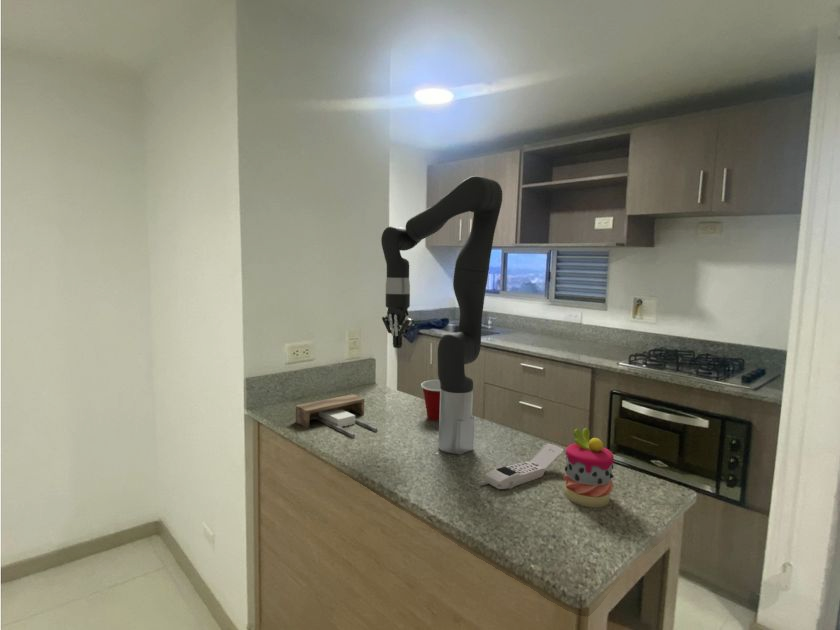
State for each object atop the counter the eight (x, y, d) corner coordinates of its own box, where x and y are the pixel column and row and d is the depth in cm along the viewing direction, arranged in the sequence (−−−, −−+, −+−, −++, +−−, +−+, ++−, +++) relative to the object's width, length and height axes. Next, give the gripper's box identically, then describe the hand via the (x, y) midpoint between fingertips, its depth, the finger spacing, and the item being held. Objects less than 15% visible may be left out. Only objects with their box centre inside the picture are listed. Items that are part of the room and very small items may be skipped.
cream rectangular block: (355, 424, 152) (355, 415, 152) (338, 429, 148) (338, 419, 148) (334, 415, 161) (335, 406, 161) (318, 419, 157) (318, 410, 156)
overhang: (393, 426, 150) (393, 410, 150) (334, 443, 136) (334, 424, 135) (352, 409, 167) (352, 394, 167) (295, 421, 152) (295, 405, 152)
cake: (619, 497, 108) (623, 434, 106) (597, 513, 101) (602, 445, 99) (576, 481, 116) (580, 422, 114) (554, 495, 108) (557, 432, 107)
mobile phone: (566, 449, 121) (495, 470, 107) (564, 471, 122) (494, 495, 108) (547, 441, 126) (477, 461, 112) (546, 463, 127) (476, 485, 113)
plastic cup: (415, 420, 157) (416, 385, 156) (425, 411, 167) (426, 378, 166) (446, 425, 153) (448, 389, 152) (455, 415, 164) (456, 381, 162)
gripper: (421, 293, 144) (420, 349, 145) (393, 291, 153) (392, 344, 155) (402, 293, 138) (402, 351, 140) (375, 291, 148) (374, 346, 150)
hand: (397, 347), depth 147 cm, fingers closed
